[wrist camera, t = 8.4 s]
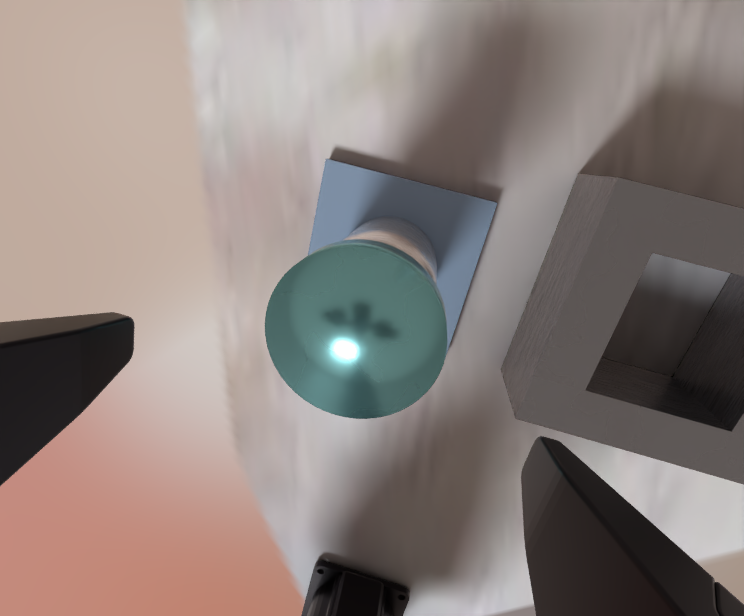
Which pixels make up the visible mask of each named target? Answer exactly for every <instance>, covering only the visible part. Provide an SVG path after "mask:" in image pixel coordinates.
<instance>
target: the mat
mask: <svg viewBox="0 0 744 616" xmlns="http://www.w3.org/2000/svg"><path fill="white" fill-rule="evenodd" d="M496 206H497V203H496V202H494V201H490V200H486V199H482V198H478V197H475V196H471V195H467V194H463V193H459V192H455V191H451V190H447V189H444V188H440V187H436V186H432V185H428V184H424V183H420V182H416V181H413V180H409V179H405V178H401V177H397V176H393V175H389V174H385V173H382V172H378V171H374V170H370V169H366V168H362V167H358V166H354V165H351V164H347V163H343V162H339V161H335V160H331V159H326V161H325V167H324V172H323V177H322V183H321V188H320V193H319V199H318V204H317V209H316V215H315V220H314V225H313V231H312V236H311V241H310V247H309V252H308V255H310V254H311V253H313V252H314V251H316V250H317V249H319V248H321V247H323V246H325V245H328V244H331V243H334V242H338V241H342V240H343V239H345V238H346V237H347V236H348V235H350V234H351V233H352V232H353V231H354V230H356V229H357V228H358V227H359V226H361V225H362V224H364V223H365V222H367V221H369V220H372V219H375V218H379V217H386V216H391V217H399V218H403V219H405V220H408V221H410V222H412V223H414V224H415V225H417V226H418V227H419V228H420V229H422V230H423V231H424V232H425V234H426V235H427V236H428V238H429V239H430V241H431V243H432V245H433V247H434V250H435V253H436V259H437V287H438V289H439V291H440V293H441V296H442V299H443V302H444V306H445V312H446V321H447V351H448V348H449V345H450V342H451V339H452V336H453V334H454V331H455V328H456V325H457V322H458V319H459V316H460V313H461V310H462V307H463V304H464V301H465V298H466V295H467V292H468V289H469V286H470V283H471V280H472V277H473V274H474V271H475V268H476V265H477V262H478V259H479V256H480V253H481V250H482V247H483V244H484V241H485V238H486V235H487V232H488V229H489V227H490V224H491V221H492V218H493V215H494V212H495V209H496ZM447 351H446V354H447ZM445 357H446V356H445Z"/></svg>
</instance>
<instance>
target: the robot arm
mask: <svg viewBox="0 0 744 616" xmlns="http://www.w3.org/2000/svg"><path fill="white" fill-rule="evenodd" d="M133 350H134V321H133V319H132V318H131V317H129V316H125V315H122V314H119V313H114V312H110V313H100V314H88V315H77V316H67V317H55V318H44V319H33V320H22V321H11V322H0V486H1V485H2V484H3V483H4V482H5V481H6V480H8V479H9V478H10V477H11V476H12V475H13V474H14V473H15V472H17V471H18V470H19V469H20V468H21V467H22V466H23V465H24V464H25V463H27V462H28V461H29V460H30V459H31V458H32V457H33V456H34V455H35V454H37V452H39V451H40V450H41V449H42V448H43V447H44V446H45V445H47V443H49V442H50V441H51V440H52V439H53V438H54V437H56V436H57V435H58V434H59V433H60V432H61V431H62V430H63V429H64V428H66V426H68V425H69V424H70V423H71V422H72V421H73V420H74V419H75V418H77V417H78V416H79V415H80V414H81V413H82V412H83V411H84V410H85V409H86V408H87V407H88V406H89V405H90V404H91V402H92V401H93V400H94V399H95V398H96V397H97V396H98V395H99V394H100V392H102V390H103V389H104V388H105V387H106V386H107V385H108V384H109V383H110V382H111V381H112V380H113V378H114V377H115V376H116V375H117V374H118V373H119V372H120V371H121V370H122V369H123V368H124V367H125V365H126V364H127V363H128V362H129V361H130V359H131V357H132V355H133ZM521 483H522V502H523V521H524V539H525V549H526V557H527V563H528V569H529V575H530V581H531V587H532V593H533V599H534V605H535V611H536V616H744V604H743V603H741V602H740V601H739V600H738V599H737V598H736V597H735V596H733V595H732V594H731V593H730V592H729V591H728V590H727V589H726V588H724V587H723V586H722V585H721V584H720V583H718V582H715V581H714V578H713V577H712V576H711V575H709V573H707V572H706V571H705V570H704V569H703V568H702V567H701V566H700V565H698V564H697V563H696V562H695V561H694V560H693V559H692V558H690V557H689V556H688V555H687V554H686V553H685V552H684V551H683V550H681V549H680V548H679V547H678V546H677V545H676V544H675V543H674V542H672V541H671V540H670V539H669V538H668V537H667V536H666V535H665V534H663V533H662V532H661V531H660V530H659V529H658V528H657V527H656V526H654V525H653V524H652V523H651V522H650V521H649V520H648V519H647V518H645V517H644V516H643V515H642V514H641V513H640V512H639V511H638V510H636V509H635V508H634V507H633V506H632V505H631V504H630V503H628V502H627V501H626V500H625V499H624V498H623V497H622V496H621V495H619V494H618V493H617V492H616V491H615V490H614V489H613V488H612V487H610V486H609V485H608V484H607V483H606V482H605V481H604V480H603V479H601V478H600V477H599V476H598V475H597V474H596V473H595V472H594V471H592V470H591V469H590V468H589V467H588V466H587V465H586V464H585V463H583V462H582V461H581V460H580V459H579V458H578V457H577V456H576V455H574V454H573V453H572V452H571V451H570V450H569V449H568V448H567V447H565V446H564V445H563V444H562V443H561V442H559V441H557V440H554V439H550V438H547V437H543V436H540V437H538V438H537V439H536V440H535V442H534V444H533V446H532V448H531V451H530V453H529V455H528V457H527V459H526V461H525V464H524V466H523V469H522V474H521ZM408 601H409V590H408V589H407V588H406V587H404V586H401V585H398V584H395V583H392V582H388V581H385V580H382V579H379V578H376V577H373V576H370V575H366V574H363V573H360V572H357V571H354V570H351V569H348V568H344V567H341V566H338V565H335V564H332V563H329V562H326V561H317V562H316V564H315V567H314V570H313V574H312V578H311V581H310V585H309V589H308V593H307V596H306V600H305V604H304V608H303V612H302V616H403V614H404V611H405V608H406V606H407V603H408Z"/></svg>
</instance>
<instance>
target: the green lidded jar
mask: <svg viewBox="0 0 744 616" xmlns="http://www.w3.org/2000/svg"><path fill="white" fill-rule="evenodd" d="M265 336H266V342H267V347H268V350H269V353H270V356H271V359H272V361H273V363H274V365H275V367H276V369H277V370H278V372H279V374H280V375H281V377H282V378H283V379H284V381H285V382H286V383H287V384H288V385H289V387H290V388H291V389H292V390H293V391H294V392H295V393H297V394H298V395H299V396H300V397H302V398H303V399H304V400H306V401H307V402H309V403H310V404H312V405H314V406H315V407H317V408H319V409H322V410H324V411H326V412H329V413H332V414H335V415H339V416H343V417H349V418H359V419H368V418H377V417H382V416H387V415H391V414H393V413H396V412H399V411H401V410H403V409H405V408H407V407H409V406H410V405H412V404H413V403H415V402H416V401H417V400H419V399H420V398H421V397H422V396H423V395H424V394H425V393H426V392H427V391H428V390H429V389H430V387H431V386H432V385H433V384H434V382H435V380H436V379H437V377H438V375H439V374H440V371H441V369H442V366H443V364H444V360H445V356H446V351H447V321H446V312H445V306H444V302H443V299H442V296H441V293H440V291H439V289H438V287H437V259H436V253H435V250H434V247H433V245H432V243H431V241H430V239H429V238H428V236H427V235H426V234H425V232H424V231H423V230H422V229H420V228H419V227H418V226H417V225H415V224H414V223H412V222H410V221H408V220H405V219H403V218H399V217H391V216H386V217H379V218H375V219H372V220H369V221H367V222H365V223H364V224H362V225H361V226H359V227H358V228H357V229H356V230H354V231H353V232H352V233H351V234H350V235H348V236H347V237H346V238H345V239H343V240H342V241H338V242H334V243H331V244H328V245H325V246H323V247H321V248H319V249H317V250H316V251H314V252H313V253H311V254H310V255H308V256H307V257H305V258H304V259H303V260H301V261H300V262H299V263H297V264H296V265H294V266H293V267H292V268H291V269H290V270H289V271H288V272H287V273H286V274H285V275H284V276H283V277H282V279H281V280H280V281H279V283H278V284H277V286H276V288H275V289H274V291H273V293H272V295H271V298H270V300H269V303H268V307H267V311H266V318H265Z"/></svg>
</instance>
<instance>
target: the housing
mask: <svg viewBox="0 0 744 616" xmlns="http://www.w3.org/2000/svg"><path fill="white" fill-rule="evenodd" d="M652 253H656V254H659V255H663V256H667V257H671V258H675V259H679V260H683V261H686V262H690V263H694V264H698V265H702V266H706V267H709V268H713V269H717V270H721V271H725V272H729V273H731V275H730V276H729V278H728V280H727V282H726V284H725V285H724V287H723V289H722V291H721V292H720V294H719V296H718V298H717V299H716V301H715V303H714V305H713V307H712V308H711V310H710V312H709V314H708V315H707V317H706V319H705V321H704V323H703V324H702V326H701V328H700V330H699V331H698V333H697V335H696V337H695V338H694V340H693V342H692V344H691V346H690V347H689V349H688V351H687V353H686V354H685V356H684V358H683V360H682V362H681V363H680V365H679V367H678V369H677V370H676V372H675V374H674V376H673V377H670V376H666V375H663V374H659V373H655V372H652V371H648V370H645V369H641V368H637V367H634V366H630V365H626V364H623V363H619V362H616V361H612V360H608V359H605V358H601V357H602V355H603V353H604V351H605V349H606V346H607V344H608V342H609V340H610V338H611V336H612V334H613V332H614V330H615V328H616V326H617V324H618V322H619V320H620V318H621V316H622V313H623V311H624V309H625V307H626V305H627V303H628V301H629V299H630V297H631V295H632V293H633V291H634V289H635V287H636V285H637V283H638V281H639V278H640V276H641V274H642V272H643V270H644V268H645V266H646V264H647V262H648V260H649V258H650V256H651V254H652ZM501 371H502V375H503V378H504V382H505V385H506V388H507V392H508V395H509V398H510V402H511V405H512V409H513V412H514V415H515V418H516V419H519V420H523V421H526V422H530V423H533V424H537V425H540V426H544V427H547V428H550V429H554V430H557V431H561V432H564V433H568V434H571V435H575V436H578V437H582V438H585V439H589V440H592V441H595V442H599V443H602V444H606V445H609V446H613V447H616V448H620V449H623V450H627V451H630V452H634V453H637V454H640V455H644V456H647V457H651V458H654V459H658V460H661V461H665V462H668V463H672V464H675V465H679V466H682V467H685V468H689V469H692V470H696V471H699V472H703V473H706V474H710V475H713V476H717V477H720V478H724V479H727V480H730V481H734V482H737V483H741V484H744V209H743V208H739V207H735V206H731V205H727V204H723V203H719V202H715V201H711V200H707V199H703V198H699V197H695V196H691V195H687V194H683V193H679V192H675V191H671V190H667V189H663V188H659V187H655V186H651V185H647V184H643V183H639V182H635V181H631V180H627V179H623V178H619V177H609V176H597V175H586V174H578V175H577V178H576V180H575V183H574V185H573V188H572V190H571V193H570V195H569V198H568V200H567V203H566V205H565V208H564V211H563V213H562V216H561V218H560V221H559V223H558V226H557V228H556V231H555V233H554V236H553V238H552V241H551V244H550V246H549V249H548V251H547V254H546V256H545V259H544V261H543V264H542V266H541V269H540V271H539V274H538V277H537V279H536V282H535V284H534V287H533V289H532V292H531V294H530V297H529V299H528V302H527V304H526V307H525V310H524V312H523V315H522V317H521V320H520V322H519V325H518V327H517V330H516V332H515V335H514V337H513V340H512V343H511V345H510V348H509V350H508V353H507V355H506V358H505V360H504V363H503V365H502V368H501Z"/></svg>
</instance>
